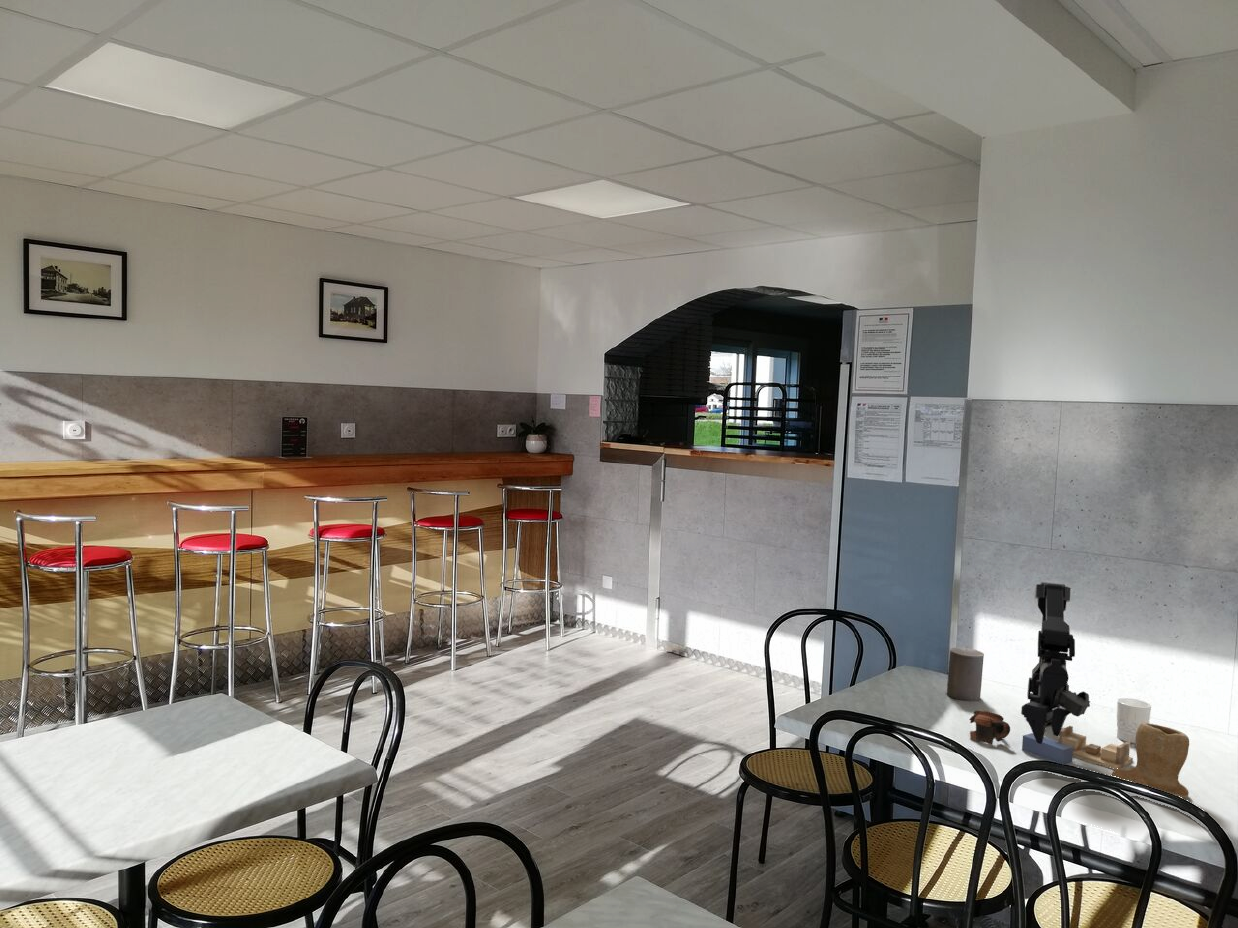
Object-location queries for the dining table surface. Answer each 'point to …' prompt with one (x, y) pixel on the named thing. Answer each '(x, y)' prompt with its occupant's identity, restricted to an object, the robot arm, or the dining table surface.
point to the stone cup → (1158, 759)
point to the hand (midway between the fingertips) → (1047, 739)
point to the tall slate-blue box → (1048, 749)
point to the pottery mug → (988, 727)
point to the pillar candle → (965, 674)
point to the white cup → (1131, 717)
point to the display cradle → (1096, 750)
